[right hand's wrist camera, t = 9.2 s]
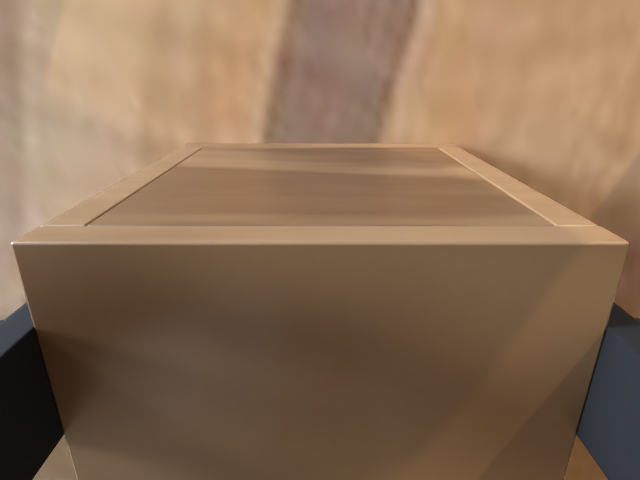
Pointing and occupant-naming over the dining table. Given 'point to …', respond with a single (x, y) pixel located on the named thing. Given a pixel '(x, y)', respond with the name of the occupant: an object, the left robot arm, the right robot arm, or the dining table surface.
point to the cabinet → (320, 317)
